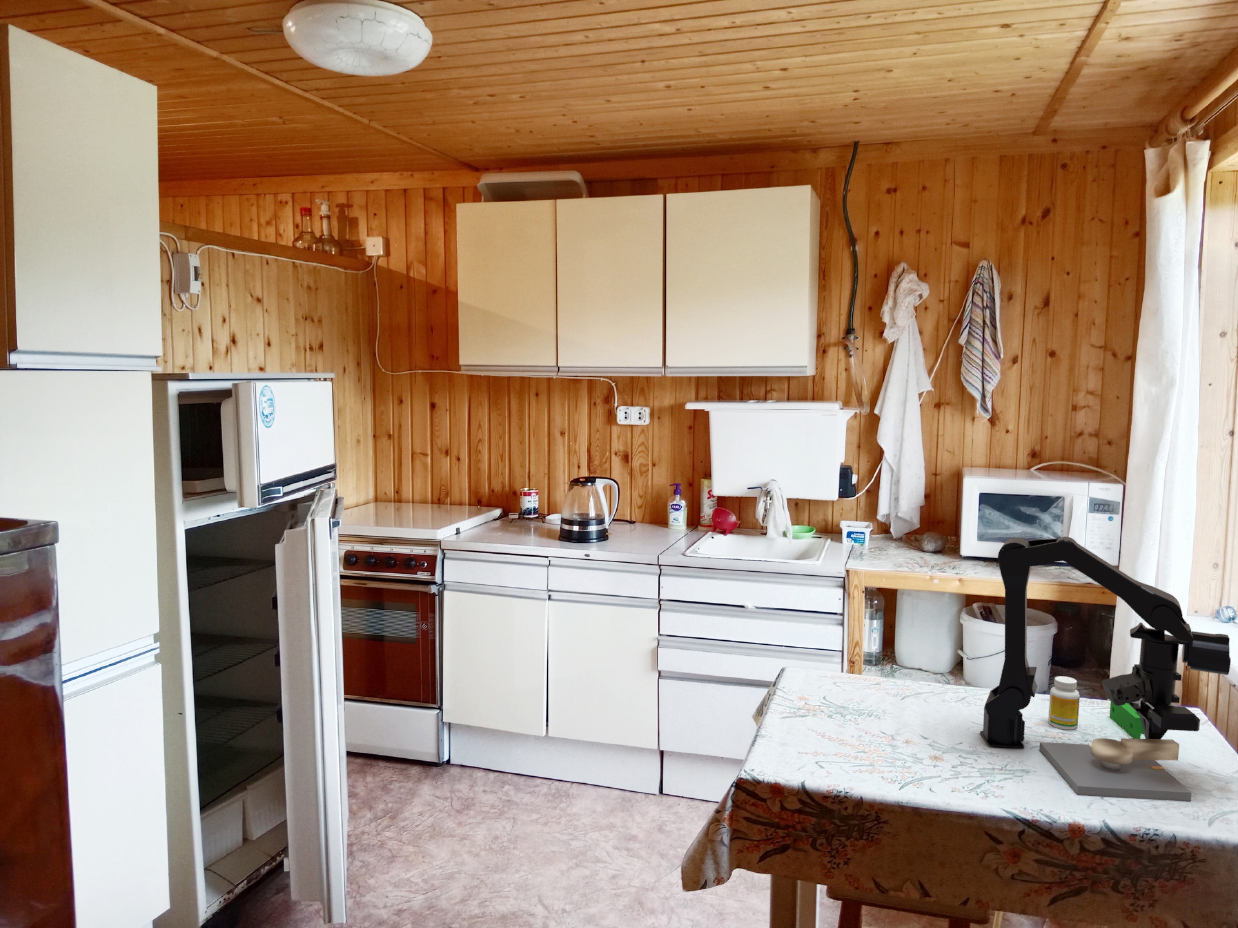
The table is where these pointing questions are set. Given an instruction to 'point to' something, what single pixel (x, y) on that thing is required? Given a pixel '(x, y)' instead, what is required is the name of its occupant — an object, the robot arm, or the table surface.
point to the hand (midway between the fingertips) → (1150, 747)
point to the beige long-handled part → (1134, 750)
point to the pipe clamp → (1127, 719)
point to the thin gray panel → (1112, 774)
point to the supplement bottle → (1064, 703)
